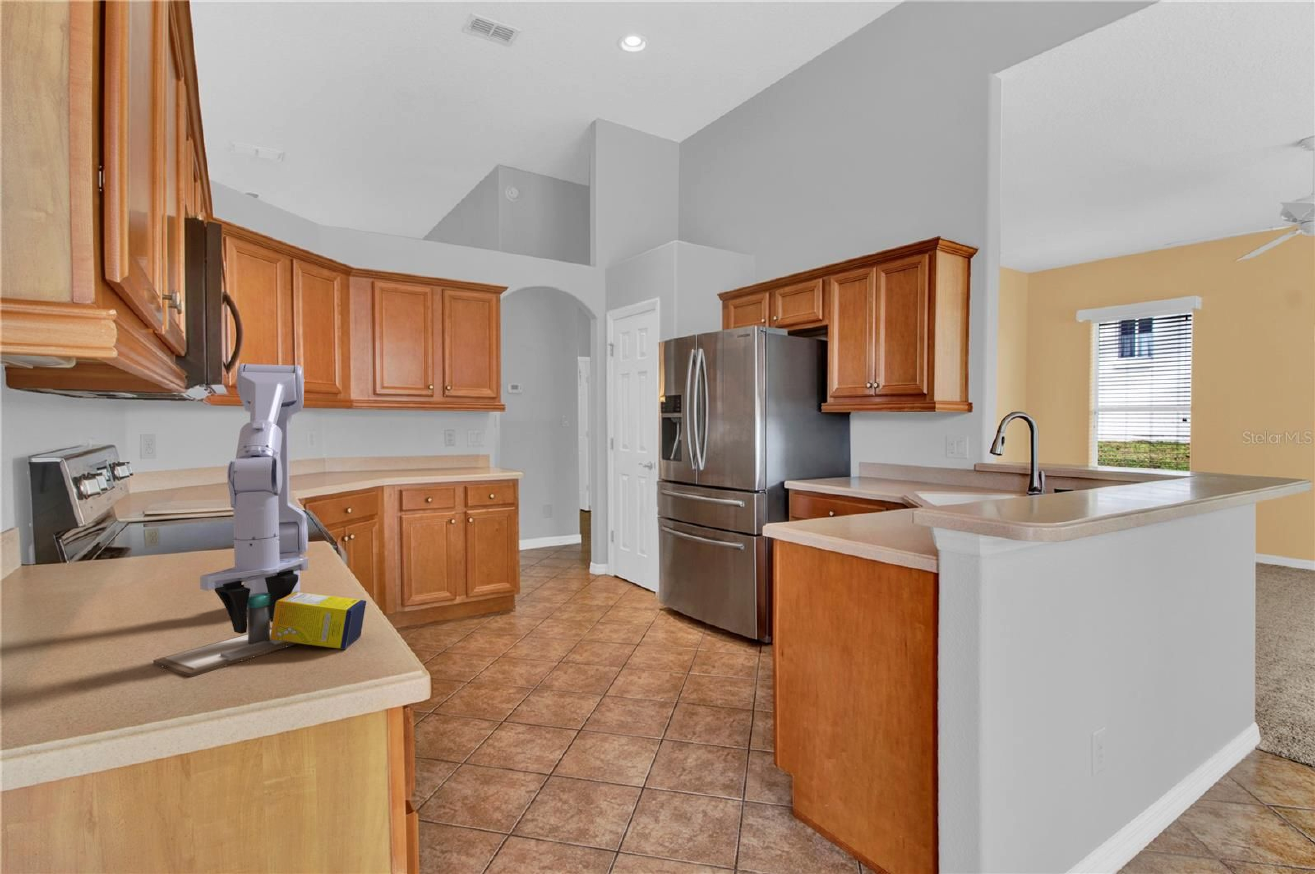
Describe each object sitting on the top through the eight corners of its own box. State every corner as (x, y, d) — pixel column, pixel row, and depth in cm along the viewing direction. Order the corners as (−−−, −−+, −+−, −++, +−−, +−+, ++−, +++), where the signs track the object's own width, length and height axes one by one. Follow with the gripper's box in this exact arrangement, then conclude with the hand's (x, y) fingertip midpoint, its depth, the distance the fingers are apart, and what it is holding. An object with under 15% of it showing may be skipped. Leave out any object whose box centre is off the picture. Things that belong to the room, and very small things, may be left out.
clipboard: (153, 663, 88) (153, 655, 88) (270, 630, 102) (270, 623, 102) (189, 677, 83) (189, 669, 83) (307, 640, 97) (307, 633, 97)
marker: (243, 642, 94) (242, 596, 94) (264, 637, 97) (263, 591, 97) (254, 646, 93) (253, 598, 93) (275, 640, 95) (274, 594, 95)
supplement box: (361, 637, 98) (288, 628, 98) (367, 600, 99) (295, 589, 98) (345, 650, 93) (268, 640, 92) (352, 610, 93) (275, 599, 92)
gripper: (217, 547, 86) (220, 646, 86) (319, 531, 99) (321, 617, 99) (191, 543, 90) (193, 638, 90) (293, 528, 102) (294, 611, 103)
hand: (258, 627), depth 95 cm, fingers open, 5 cm apart
